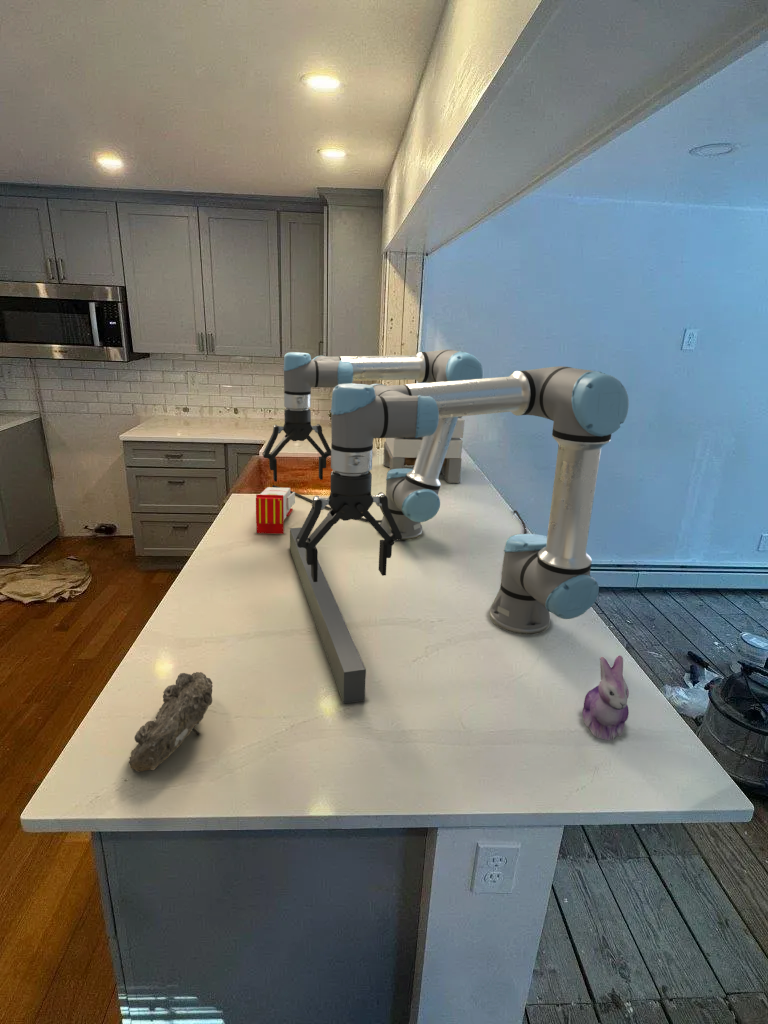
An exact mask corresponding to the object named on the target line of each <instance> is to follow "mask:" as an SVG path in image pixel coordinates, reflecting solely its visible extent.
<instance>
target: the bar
mask: <svg viewBox="0 0 768 1024" xmlns="http://www.w3.org/2000/svg"><path fill="white" fill-rule="evenodd" d="M301 528H302V526H301V527H290V528H289V550H290V553H291V557H292V559H293V562H294V565H295V569H296V571H297V573H298V576H299V580H300V582H301V585H302V587H303V588H302V589H303V591H304V594H305V597H306V600H307V602H308V606H309V608H310V611H311V614H312V617H313V621H314V623H315V626H316V629H317V631H318V635H319V638H320V640H321V643H322V647H323V648H324V652H325V655H326V657H327V661H328V663H329V666H330V669H331V672H332V675H333V678H334V680H335V684H336V687H337V689H338V692H339V695H340V698H341V702H342V704H343V705H345V704H352V703H356V702H364V701H366V700H365V699H366V678H367V677H366V675H367V670H366V667H365V665H364V662H363V660H362V658H361V656H360V653H359V651H358V648H357V646H356V644H355V641H354V640H353V637H352V634H351V632H350V631H349V628H348V625H347V623H346V620H345V619H344V616H343V614H342V612H341V610H340V606H339V605H338V602H337V601H336V598H335V596H334V594H333V591H332V589H331V587H330V584H329V582H328V580H327V578H326V576H325V575H326V574H325V573H324V571H323V569H322V566H321V563H320V562H319V561H318V578H317V582H313V579H312V577H311V565H308V564H307V562H306V549H305V548H303V547H302V548H299V547H298V545H297V543H296V538H297V536H298V534H299V532H300V530H301Z"/></svg>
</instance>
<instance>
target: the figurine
mask: <svg viewBox="0 0 768 1024" xmlns="http://www.w3.org/2000/svg"><path fill="white" fill-rule="evenodd" d="M599 666H600V667H599V669H600V681H599V684H598V685H597V686H595V687H593V688H592V689H590V690H589V691H588V692H586V694H585V697H584V701H583V708H582V714H581V715H582V719H583V722H584V725H585V726H586V727H587V728H588V729H589V731H590V732H591V734H592V735H593V736H594V737H596V738H598V739H601V740H606V741H614V739H616V737H620V736H622V734H623V732H624V728H625V725H626V722H627V721H628V718H629V713H630V709H629V705H628V699H629V695H630V691H629V686H628V683H627V682H626V680H625V678H624V658H623V656H622V655H621V654H620V655H617V656H616V658H615V659H614V662H613V664H612V666H611V665H610V664H609V662H608V660H607V659H606V658H605V656H600V657H599Z"/></svg>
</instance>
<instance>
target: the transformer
mask: <svg viewBox="0 0 768 1024" xmlns="http://www.w3.org/2000/svg"><path fill="white" fill-rule="evenodd" d="M464 429H465V419H464V418H463V416H459V417H458V420H457V423H456V426H455V429H454V432H453V435H452V438H451V441H450V444H449V447H448V450H447V453H446V456H445V459H444V462H443V465H442V468H441V471H440V474H441V475H443V478H444V479H445V481H446V482H447V483H449V484H455V483H456V484H459V483H461V472H462V461H463V460H462V453H463V442H464V441H463V440H462V439H463V438H464V431H465V430H464ZM422 439H423V437H418V438H415V437H410V438H384V442H383V466H384V467H388V468H389V470H392V469H401V468H405V466H406V467H407V466H411V467H412V466H413V467H414V465H415V461H416V458H417V455H418V452H419V449H420V446H421V442H422Z"/></svg>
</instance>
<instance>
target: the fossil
mask: <svg viewBox="0 0 768 1024" xmlns="http://www.w3.org/2000/svg"><path fill="white" fill-rule="evenodd" d="M212 694H213V681H212V679H211V678H210V677H207V674H205V673H203V672H201V671H200V672H199V671H195V672H193V673H192V674H191V673H186V672H181V673H179V675H178V676H177V678H176V680H175V684H174V683H173V684H171V685H168V686H167V687H166V688H165V689H164V691H163V694H162V701H163V703H162V705H161V706H160V708H159V710H158V712H157V714H156V715H155V720H148V721H146V722H145V723H144V725H141V726H140V728H139V729H138V730H137V732H136V733H135V735H134V741H135V743H137V744H136V746H135V747H134V748H133V750H131V751H130V756H129V757H128V759H129V760H128V765H129V768H130V769H131V770H134V771H136V772H139V773H141V772H144V771H150V770H152V771H154V770H155V769H157V768H158V767H159V766H160V765H161V764H162V763H163V762H165V760H167V759H168V758H169V757H170V756H171V755H172V754H173V753H174V752H175V751H176V750H177V749H178V748H179V747H181V746H182V743H184V740H185V738H187V737H188V736H190V734H191V732H194V733H195V735H197V736H200V735H201V733H200V732H199V731H198V730H197V728H196V727H195V726H196V725H199V724H200V723H201V721H202V720H203V719H204V716H205V714H206V712H207V710H208V708H209V706H211V705H212V703H213V696H212Z"/></svg>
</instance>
